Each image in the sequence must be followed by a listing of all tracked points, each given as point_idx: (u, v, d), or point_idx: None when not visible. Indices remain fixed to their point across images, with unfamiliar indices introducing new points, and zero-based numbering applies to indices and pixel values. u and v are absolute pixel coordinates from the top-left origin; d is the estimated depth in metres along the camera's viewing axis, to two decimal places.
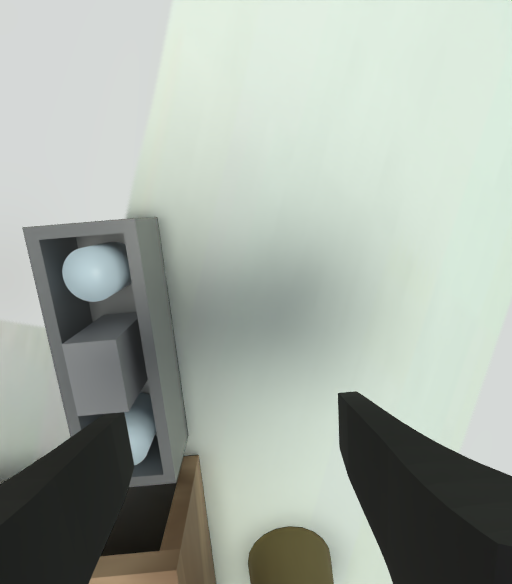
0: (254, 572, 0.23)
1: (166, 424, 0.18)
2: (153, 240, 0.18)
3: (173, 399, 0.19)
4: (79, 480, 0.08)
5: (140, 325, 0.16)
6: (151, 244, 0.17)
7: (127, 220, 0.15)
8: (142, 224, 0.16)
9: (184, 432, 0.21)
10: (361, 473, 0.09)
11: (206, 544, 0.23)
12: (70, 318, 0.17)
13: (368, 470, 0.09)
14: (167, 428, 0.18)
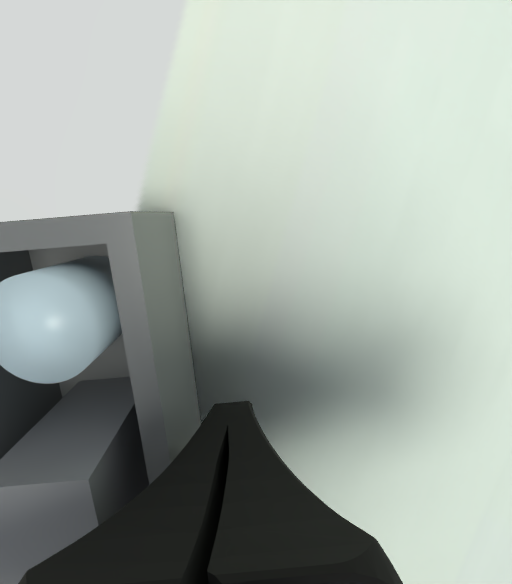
0: None
1: None
2: (167, 254, 0.10)
3: None
4: (224, 467, 0.08)
5: (143, 431, 0.08)
6: (164, 263, 0.09)
7: (115, 216, 0.07)
8: (147, 225, 0.08)
9: None
10: None
11: None
12: (10, 405, 0.09)
13: None
14: None
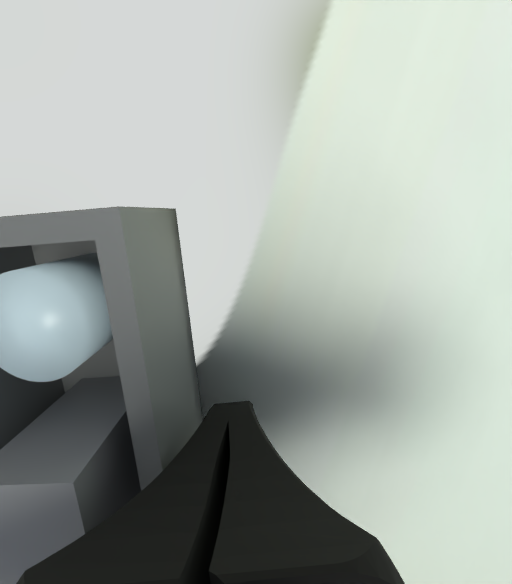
0: None
1: None
2: (166, 252, 0.09)
3: None
4: (223, 467, 0.08)
5: (133, 434, 0.08)
6: (161, 261, 0.09)
7: (103, 211, 0.07)
8: (141, 221, 0.08)
9: None
10: None
11: None
12: (9, 401, 0.09)
13: None
14: None
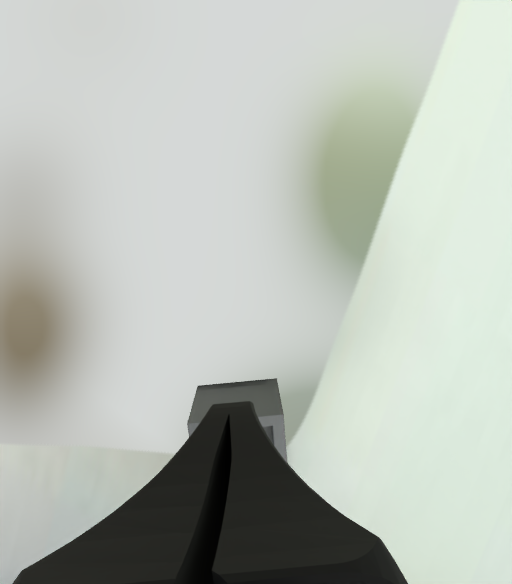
0: None
1: None
2: None
3: None
4: (221, 467, 0.08)
5: None
6: None
7: (277, 416, 0.18)
8: None
9: None
10: None
11: None
12: None
13: None
14: None
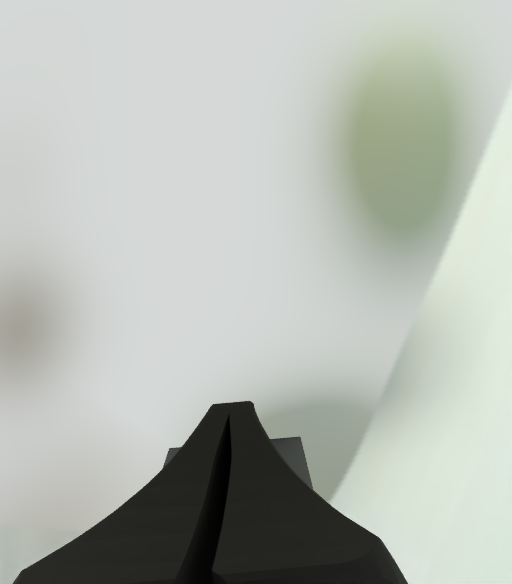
0: None
1: None
2: None
3: None
4: (221, 467, 0.08)
5: None
6: None
7: None
8: None
9: None
10: None
11: None
12: None
13: None
14: None
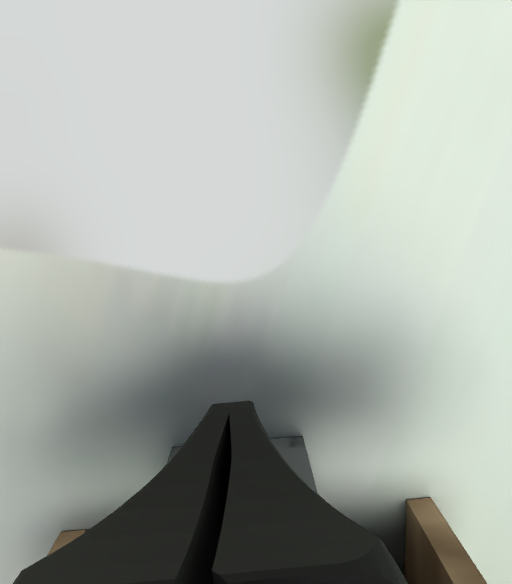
0: None
1: None
2: None
3: None
4: (221, 467, 0.08)
5: None
6: None
7: None
8: None
9: None
10: None
11: None
12: None
13: None
14: None
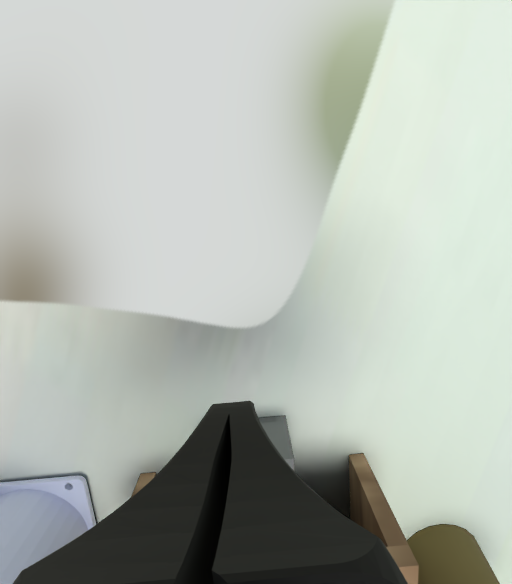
0: None
1: None
2: None
3: None
4: (221, 467, 0.08)
5: None
6: None
7: (287, 460, 0.18)
8: None
9: None
10: None
11: None
12: None
13: None
14: None
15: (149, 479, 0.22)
